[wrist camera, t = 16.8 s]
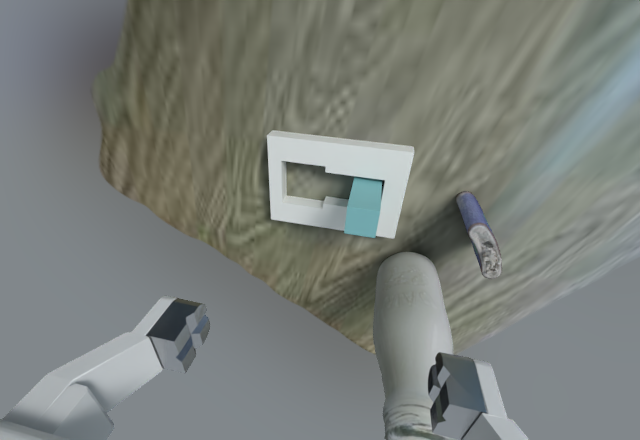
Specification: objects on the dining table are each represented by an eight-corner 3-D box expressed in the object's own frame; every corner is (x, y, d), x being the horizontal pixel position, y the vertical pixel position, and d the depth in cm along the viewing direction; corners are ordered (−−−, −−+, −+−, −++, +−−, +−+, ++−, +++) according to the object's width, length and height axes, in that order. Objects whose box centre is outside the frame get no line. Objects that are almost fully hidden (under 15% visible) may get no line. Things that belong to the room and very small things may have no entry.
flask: (453, 193, 43) (469, 237, 35) (474, 186, 42) (497, 229, 33) (470, 242, 47) (488, 292, 38) (490, 236, 46) (514, 287, 37)
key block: (352, 196, 47) (344, 233, 39) (355, 173, 45) (347, 206, 37) (378, 200, 46) (375, 238, 38) (382, 176, 44) (380, 211, 36)
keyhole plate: (275, 211, 51) (271, 219, 49) (272, 130, 44) (267, 135, 42) (393, 229, 49) (394, 238, 47) (413, 146, 41) (414, 152, 39)
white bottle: (389, 289, 56) (387, 475, 33) (369, 247, 52) (351, 427, 29) (444, 279, 52) (486, 481, 29) (428, 233, 48) (462, 427, 25)
